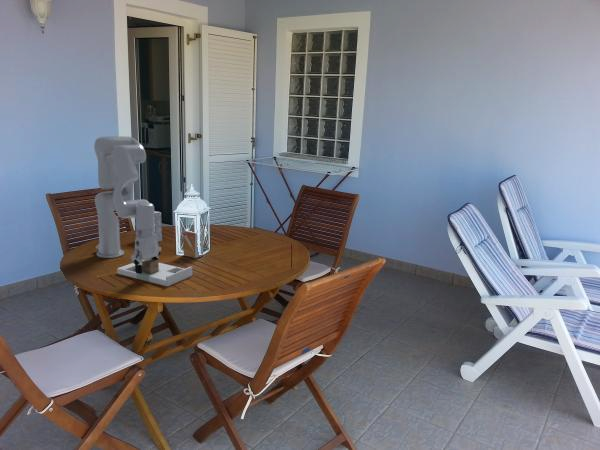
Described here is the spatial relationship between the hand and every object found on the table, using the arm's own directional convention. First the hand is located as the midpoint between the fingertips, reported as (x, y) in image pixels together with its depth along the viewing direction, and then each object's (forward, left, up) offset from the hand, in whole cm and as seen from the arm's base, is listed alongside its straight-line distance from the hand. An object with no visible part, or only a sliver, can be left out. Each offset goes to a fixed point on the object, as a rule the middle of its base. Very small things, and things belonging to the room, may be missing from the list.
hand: (147, 270), depth 211 cm
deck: (-1, +5, -4) cm, 7 cm away
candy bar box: (-41, +46, -4) cm, 62 cm away
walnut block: (0, +2, -1) cm, 2 cm away
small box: (-5, +37, -4) cm, 38 cm away
